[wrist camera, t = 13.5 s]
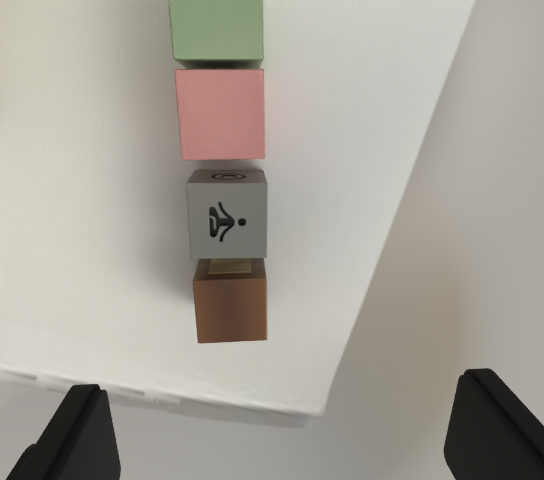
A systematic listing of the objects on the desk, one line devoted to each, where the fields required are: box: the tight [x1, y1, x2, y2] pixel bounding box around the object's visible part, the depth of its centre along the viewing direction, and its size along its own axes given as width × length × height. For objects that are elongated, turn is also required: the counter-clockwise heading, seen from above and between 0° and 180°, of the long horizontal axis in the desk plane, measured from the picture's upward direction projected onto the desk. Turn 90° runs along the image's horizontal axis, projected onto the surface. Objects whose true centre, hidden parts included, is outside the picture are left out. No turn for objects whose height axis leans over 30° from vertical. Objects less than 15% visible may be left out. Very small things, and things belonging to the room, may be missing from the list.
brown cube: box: [193, 258, 267, 343], centre depth 29 cm, size 5×5×5 cm
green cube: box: [168, 0, 264, 68], centre depth 22 cm, size 5×5×5 cm
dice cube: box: [186, 170, 267, 259], centre depth 26 cm, size 5×5×5 cm
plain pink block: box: [175, 69, 265, 160], centre depth 24 cm, size 5×5×5 cm
